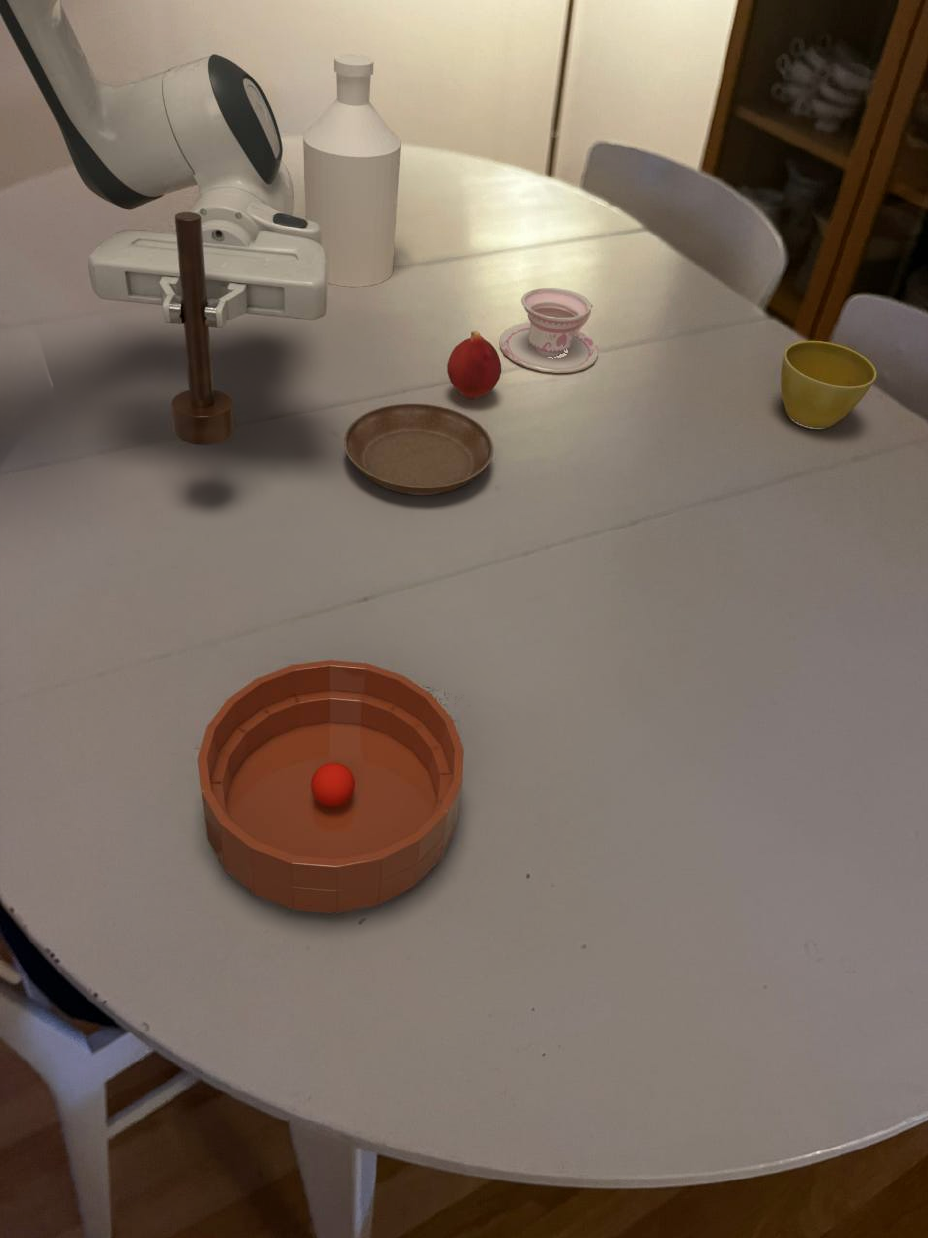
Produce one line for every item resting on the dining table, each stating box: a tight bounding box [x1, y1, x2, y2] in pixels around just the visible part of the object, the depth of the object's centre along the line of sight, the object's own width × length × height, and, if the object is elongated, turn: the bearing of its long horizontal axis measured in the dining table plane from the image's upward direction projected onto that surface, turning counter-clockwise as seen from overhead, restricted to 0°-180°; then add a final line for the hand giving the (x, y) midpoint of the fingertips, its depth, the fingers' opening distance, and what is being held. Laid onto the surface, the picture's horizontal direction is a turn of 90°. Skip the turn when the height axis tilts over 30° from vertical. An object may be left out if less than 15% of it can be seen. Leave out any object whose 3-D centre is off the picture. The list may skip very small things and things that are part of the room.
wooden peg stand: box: [171, 211, 235, 446], centre depth 85 cm, size 5×5×19 cm
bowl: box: [196, 659, 465, 914], centre depth 69 cm, size 17×17×6 cm
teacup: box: [499, 287, 599, 374], centre depth 121 cm, size 12×12×6 cm
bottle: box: [302, 53, 402, 288], centre depth 126 cm, size 12×12×25 cm
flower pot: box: [780, 340, 877, 429], centre depth 115 cm, size 10×10×7 cm
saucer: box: [343, 403, 494, 496], centre depth 102 cm, size 15×15×3 cm
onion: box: [446, 330, 502, 400], centre depth 111 cm, size 6×6×8 cm
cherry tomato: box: [311, 763, 355, 807], centre depth 70 cm, size 3×3×3 cm
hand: (193, 317), depth 83 cm, fingers closed on wooden peg stand
